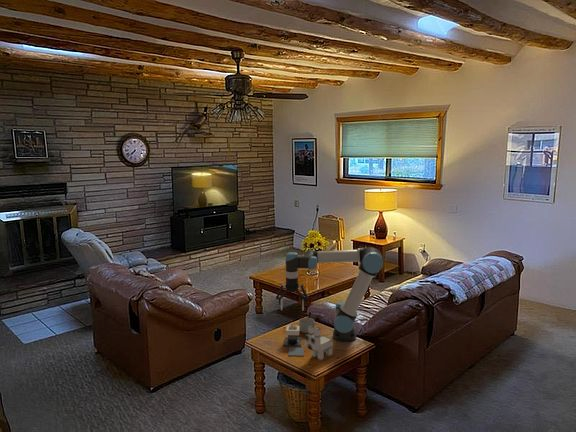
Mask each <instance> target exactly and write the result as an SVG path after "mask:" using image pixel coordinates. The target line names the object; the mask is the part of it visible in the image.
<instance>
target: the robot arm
mask: <svg viewBox="0 0 576 432" xmlns="http://www.w3.org/2000/svg"><path fill="white" fill-rule="evenodd" d="M284 260H285V284H284V283H281V285H280V289H279V290H278V293H277V295H276V296H275V299H276V300H278V305H280V311H283V298H284V297H285V295H286V294H287V293H288V292H289V293H295V292H296V294H298V296H299V297H300V298H301V299H302V305H301V307H302V312H303V311H305V306H306V303H307V302H306V301H307V300H309V296H308V294H307V292H306V290H305V287H304V284H302V283H301V284H299V269H305V270H306V269H310V270H315V269H317V268H318V264H323V263H324V264H325V263H327V264H329V263H359V266H358V273H357V276H356V278H355V281H354V282H353V285H352V286H351V289H350V290H349V293H348V296H347V297H346V299H345V301H338V302H336V303H335V314H334V320H333V324H334V325H333V326H334V329H333V332H332V337H333V339H335V340H336V341H339V342H352V341H355V340H356V339H357V331H356V329H355V326H354V323H355V321H356V319H357V317H358V312H357V311H358V309H359V307H360V305H361V303H362V301H363V299H364V297H365V294H366V292H367V291H368V288H369V286H370V284H371V282H372V280H373V278H376V277H377V275H378V273H379V272H380V271H381V270H382V268H383V266H384V259H383V256H382V253H381V251H380V250H379V249H378V248H375V247H370V246H369V247H358V248H356V249H347V250H346V249H345V250H343V249H342V250H338V249H337V250H317V251H315V250H312V249H310V250H307V251H306V252H305V253H304V255H303V256H301V255H299V254H298V253H297V252H295V251H290V252H287V253H286V254H285V259H284ZM284 288H285V291H284V292H283V293H282V291H283V289H284ZM299 289H301V291H300V290H299ZM281 293H282V294H281ZM355 338H356V339H355Z"/></svg>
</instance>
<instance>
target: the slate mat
mask: <svg viewBox="0 0 576 432" xmlns="http://www.w3.org/2000/svg"><path fill="white" fill-rule="evenodd" d="M304 353H305V347H289V349H288V357H304Z"/></svg>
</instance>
